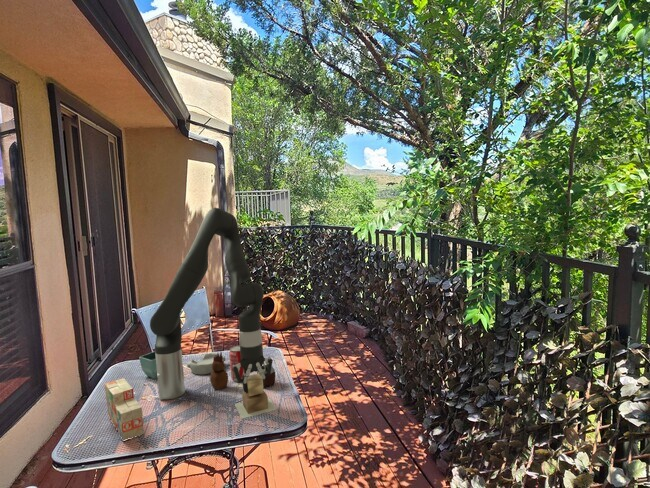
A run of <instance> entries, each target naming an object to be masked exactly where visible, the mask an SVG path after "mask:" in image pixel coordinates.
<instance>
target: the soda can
mask: <svg viewBox="0 0 650 488" xmlns="http://www.w3.org/2000/svg"><path fill="white" fill-rule="evenodd" d="M228 357H229V366H230V367H229V368H230V376H231V377H230V378H231V380H232V381H233V382H235V383H239V382H238V381H237V379H236V376H235V373H234V371H233V368H232V365H233V364H235V365H236V364H238V363H240V360H241V354H240V345H235V346H232V347H230V349H229V355H228ZM243 371H244V369H243V368H242V367H240V370H239V371H238V372H239V375H240V377H241V378H242V377H243Z"/></svg>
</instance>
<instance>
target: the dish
mask: <svg viewBox="0 0 650 488" xmlns="http://www.w3.org/2000/svg"><path fill="white" fill-rule="evenodd" d="M217 353H218V354H219V357H220V353H219V352H217ZM217 353H216V352H211V353H205V354H204V355H203V357H202V359H201V360H199V361H196V360H195V359H193V358H192V359H191V360H190V361H189V362H187V363H186V367H187V368H188V369H190V371H191V372H192V373H193V374H195V375H209V374H211V373H212V371H213V369H212V363H213V359H214V357H215V355H217ZM222 361H223V362H224V363H225V361H226V357H225V355H222Z"/></svg>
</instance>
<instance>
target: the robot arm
mask: <svg viewBox="0 0 650 488" xmlns="http://www.w3.org/2000/svg"><path fill="white" fill-rule="evenodd" d="M215 235H216V236H219V237H222V239H223V241H224V242H225V244H226V252H225V258H224V261H225V266H226V269H227V272H228V276H229V278H230V279H229V280H230V288H231V291H230V297H231V298H230V299H231V301H232V303H233V304H234V306H236V307H238V308H239V307H245V306H249V308H248V309H246V310H244V311H242V312H241V313H240V314H239V315H238V328H239V330H238V331H239V334H238V335H239V337H238V338H239V341H238V343H239V346H240V354H241V360H240V363H238V364H236V365H235V364H233V365H232V368H233V371H234V373H235V376H236V379H237V381H238V382H237V383H239V384H240V383H242V390H243V392H246V394H247V393H248V386H247V380H248V377H249V376H250V375H251V374H252V373H254V372H255V373H257V371H258V372H259V374H260V376H261V377H262V378H263V390H264V388H265V378H266V377H267V376H270V373H271V367H273V359H272V357H270V356H268V357H265V356H264V348H263V347H264V345H263V335H262V330H261V311H262V304H263V300H264V289H263V287H262V285H261V284H260V283H258V282H251V283H245V282H247V281H248V280H249V279H250V278H251V275H252V273H251V270H250V268H249V265H248V262H247V260H246V258H245V254H244V251H243V246H242V240H241V237H240V230H239V225H238V221H237V219H236V217H235V216H234V214H232V213H230V212H227V211H225V210H223V209H221V208H220V207H219V208H218V207H212V208H210V209H209V211H207V213H206V214H205V216H204V218H203V220H202V222H201V224H200V226H199V229H198V231H197V234H196V236H195V239H194V240H193V242H192V244H191V246H190V248H189V251H188V252H187V254H186V256H185V257H184V259H183V260H182V263H181V264H180V266H179V267H178V269H177V272H176V274H175V276H174V278H173V280H172V282H171V284H170V286H169V289H168V291H167V293H166V295H165V297H164V299H163V300H162V302H161V303H160V305H159V306H158V308H157V309H156V310H155V312H154V313H153V314H152V316H151V319H150V321H149V328H150V331H151V332H152V333H153V334H154V335H155V336H156V338H155V340H156V341H155V344H154V351H155V355H156V365H157V377H156V378H157V385H158V386H157V387H158V395H159V396H158V397H159V400H161V401H162V400H173V399H176V398H180V397H181V396H183V395H184V394H185V393H186V385H185V375H184V364H183V352H182V351H183V350H182V339H183V337H182V336H183V335H182V334H183V333H182V321H181V320H182V319H181V316H180V315H181V313H182V311H183V309H184V307H185V305H186V304H187V302H188V301H189V299H190V298H191V297H192V296H193V295H194V293H195V292H196V290H197V289H198V288H199V285H201V283H202V281H203V279H204V277H205V276H206V274H207V272H208V269H209V247H210V244H211V242H212V240H213V238H214V236H215ZM243 283H245V284H243ZM263 363H265V365H266V369H265V372H264V373H263V370H262V368H261V367H262V366H263ZM240 367H242V368H243V369H244V371H243V377H242V378H241V377H240V375H239V372H238V371H239V370H240ZM265 389H266V388H265ZM264 391H265V390H264Z"/></svg>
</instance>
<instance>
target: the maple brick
mask: <svg viewBox="0 0 650 488" xmlns="http://www.w3.org/2000/svg"><path fill="white" fill-rule="evenodd" d="M247 386H248V393H247V394H248V395H249V396H253V395H257V394H261V393H264V392H265V390H263V378H262V377H261V376H260V374H259V373H258V374H257V373H255V374H250V375H249V377H248V380H247Z"/></svg>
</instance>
